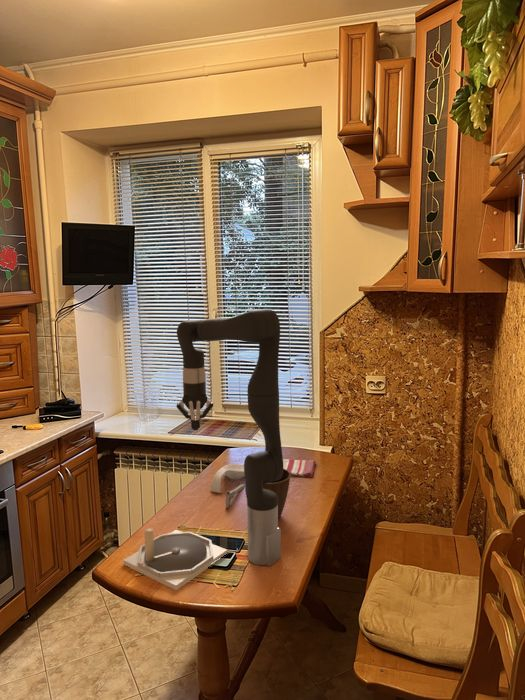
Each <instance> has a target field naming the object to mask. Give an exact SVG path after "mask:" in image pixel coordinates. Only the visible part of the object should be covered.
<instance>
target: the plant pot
mask: <svg viewBox="0 0 525 700" xmlns="http://www.w3.org/2000/svg"><path fill="white" fill-rule="evenodd" d="M290 480H291V476H290V472H289V471H287V470H286V469H283V475H282V477H281V478H280V479H279V480H277V481H273V482H270V483H266V484H262V489H267V490H271V491H273V492H275V493H276V494H277V497H278V521H279V519H280V518H281V516H282V514H283V510H284V508H285V505H286V502H287V498H288V497H287V496H288V493H289V488H290Z"/></svg>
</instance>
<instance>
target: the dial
mask: <svg viewBox="0 0 525 700" xmlns="http://www.w3.org/2000/svg"><path fill="white" fill-rule="evenodd" d="M143 534H144V544H145V562H146V564H147V565H148V566H149V567H151V568H153V569H155V570H157V571H161V572H167V571H177V570H187V569H191V568H193V567H195V566H196V565H198V564H199V563H201V562H202V561H203V560H204V559H205V557H206V555H207V548H206V545H205V544H204V542H202V541H201V540H199V539H197V538H194V537H190V536H172V537H167V538H163V539H161V540H158V541H156V542H154V538H155V537H154V536H155V535H154V529H153V528H145V529H144V532H143Z"/></svg>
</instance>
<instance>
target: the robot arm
mask: <svg viewBox="0 0 525 700" xmlns="http://www.w3.org/2000/svg"><path fill="white" fill-rule="evenodd" d="M176 337H177V340H178V344H179V347H180V351H181V353H182V366H183V367H182V389H183V390H182V392H183V396H182V399H181V401H180V402H177V404H176V405H175V406H176V408H177V410H178V411H179V412H180V413H181V414H182V416H184V418H185V419H188V420H190V421H191V423H190V424H191V425H190V426H191V429H192V430H193V431H194V432H196V431H198V430H200V427H201V422H200V421H201V419H205V418H206V416H207V415H208V413H209V412H210V411H211V409H212V408H213V407H214V402H213V401H210V400H209V398H208V396H207V387H206V385H207V382H206V380H207V376H206V369H205V367H206V366H205V353H204V350H203V349H201V348H196V347H195V346H194V344H193V343H195V342H203V341H206V342H216V341H217V342H218V341H226V340H236V341H241V342H244V343H250V344H258V357H257V362H256V365H255V367H254V369H253V372H252V374H251V376H250V379H249V381H248V383H247V408H248V409H247V410H248V412H249V415H250V416H251V419H253V421H254V422H255V423H256V425H257V427H258V428H259V429H260V431H261V433H262V435H263V438H264V443H265V449H264V451H259V452H255V453H251V454H248V455H247V456H246V457H245V458H244V462H243V465H244V476H245V477H244V489H245V490H244V491H245V497H246V508H247V509H246V510H247V511H246V513H247V518H246V519H247V520H246V523H247V529H246V530H247V560H249V562H251V563H252V564H254V565H258V566H268V567H270V566H272V565H273V564H274V563H275V562H276V561H278V560H279V559H280V558H281V557H282V551H281V550H282V537H281V535H282V532H281V529H282V528H280V527H279V520H278V497H277V494H276V493H275V492H273V491H271V490H267V489H262V484H266V483H270V482H273V481H277V480H279V479H280V478H281V477H282V475H283V459H284V458H283V448H282V439H281V438H282V437H281V428H280V427H281V426H280V425H281V424H280V389H279V387H280V386H279V354H280V339H281V323H280V319H279V316H278V314H277V313H276V312H275V311H274V310H272V309H257V310H256V309H255V310H249V311H247V312H244V313H241V314H238V315H236V316H232V317H229V318H228V317H227V318H224V317H223V318H222V317H216V318H215V317H214V318H207V319H198V320H197V319H196V320H186V321H182V322H180V323H179V324H178V325H177V328H176ZM204 406H205V409H204V410H203V411H202V413H201V410H202V409H203V408H204ZM185 407H186V408H187V409H188V410H189V412H188V410H187V409H186V408H185ZM195 410H196V411H195Z"/></svg>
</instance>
